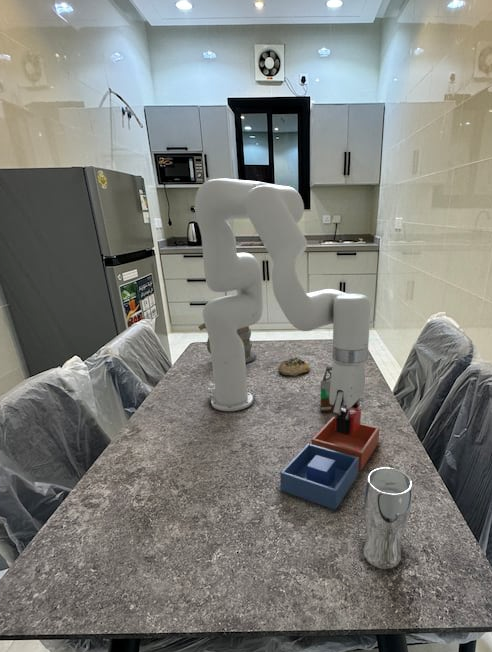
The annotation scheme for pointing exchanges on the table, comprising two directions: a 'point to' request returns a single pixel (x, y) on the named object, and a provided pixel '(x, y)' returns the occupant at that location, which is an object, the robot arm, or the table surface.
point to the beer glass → (386, 515)
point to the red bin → (349, 441)
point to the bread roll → (293, 367)
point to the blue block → (321, 470)
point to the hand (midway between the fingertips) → (347, 426)
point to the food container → (326, 391)
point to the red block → (353, 419)
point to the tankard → (245, 337)
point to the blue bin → (327, 496)
